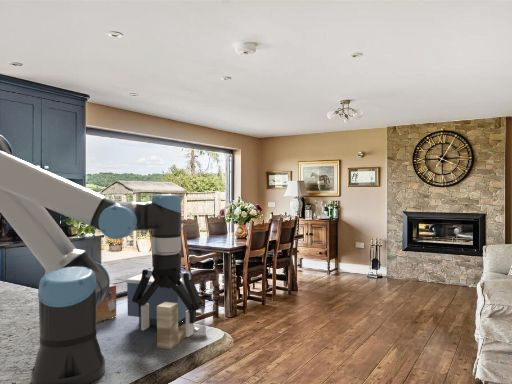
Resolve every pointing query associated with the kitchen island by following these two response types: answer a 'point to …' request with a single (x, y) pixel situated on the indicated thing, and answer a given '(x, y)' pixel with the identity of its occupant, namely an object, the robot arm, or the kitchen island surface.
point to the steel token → (198, 332)
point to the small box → (107, 305)
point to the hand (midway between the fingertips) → (166, 332)
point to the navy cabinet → (154, 300)
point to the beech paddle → (169, 326)
